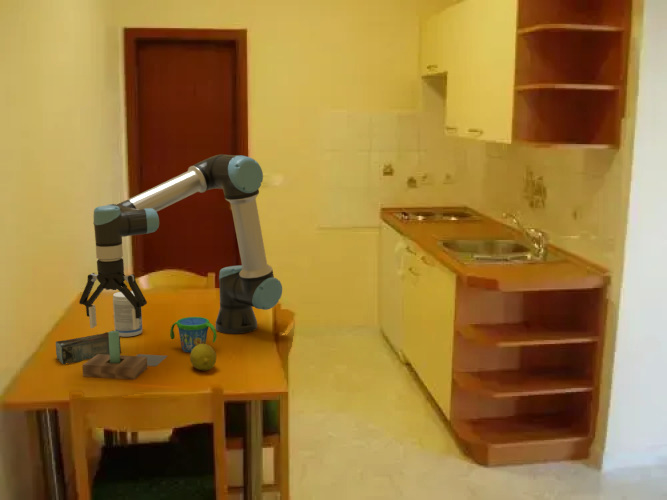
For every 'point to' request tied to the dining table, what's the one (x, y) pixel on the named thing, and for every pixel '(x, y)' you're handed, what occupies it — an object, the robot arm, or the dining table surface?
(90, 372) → the block
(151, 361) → the mat
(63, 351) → the beverage carton
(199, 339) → the snack cup
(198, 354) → the lemon
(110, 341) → the peg
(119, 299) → the supplement tub
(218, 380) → the dining table surface
